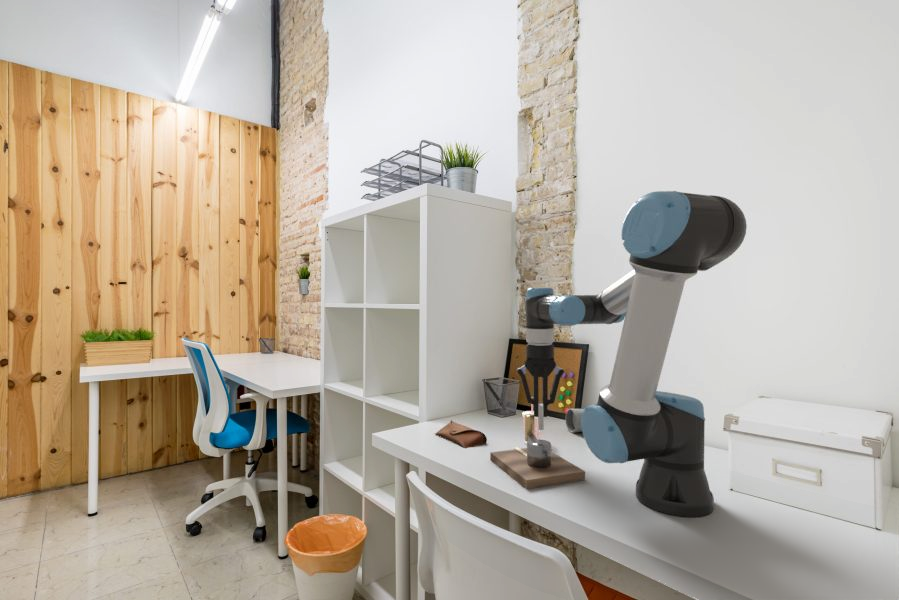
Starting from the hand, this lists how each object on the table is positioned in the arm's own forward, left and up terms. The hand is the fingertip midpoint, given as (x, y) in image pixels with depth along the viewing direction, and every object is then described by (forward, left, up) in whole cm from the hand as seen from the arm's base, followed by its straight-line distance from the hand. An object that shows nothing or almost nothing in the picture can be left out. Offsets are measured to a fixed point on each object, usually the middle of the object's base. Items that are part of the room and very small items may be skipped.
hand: (540, 428), depth 125 cm
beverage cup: (+12, -4, -8) cm, 15 cm away
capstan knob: (-5, +5, -6) cm, 9 cm away
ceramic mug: (+18, -25, -8) cm, 32 cm away
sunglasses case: (+23, +16, -9) cm, 29 cm away
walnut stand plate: (-7, +6, -8) cm, 12 cm away
